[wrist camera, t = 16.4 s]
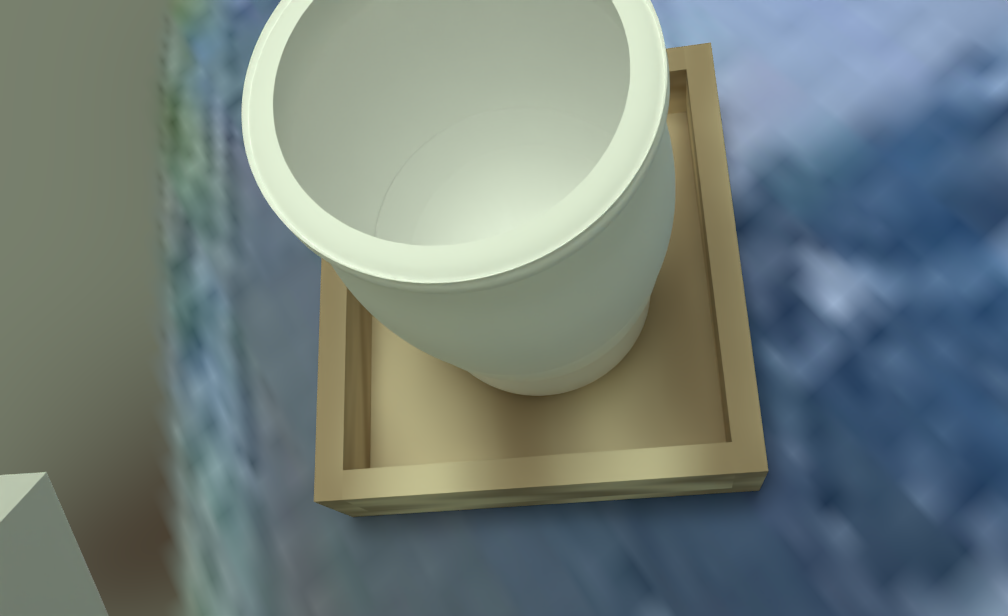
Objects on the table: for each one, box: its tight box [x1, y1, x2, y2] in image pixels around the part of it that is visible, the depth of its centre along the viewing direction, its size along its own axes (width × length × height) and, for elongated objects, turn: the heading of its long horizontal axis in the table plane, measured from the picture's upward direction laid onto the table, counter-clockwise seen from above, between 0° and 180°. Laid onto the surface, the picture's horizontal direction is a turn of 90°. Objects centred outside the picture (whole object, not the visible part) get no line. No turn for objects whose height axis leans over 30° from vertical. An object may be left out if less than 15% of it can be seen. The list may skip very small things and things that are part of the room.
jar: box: [242, 0, 675, 396], centre depth 29 cm, size 11×10×15 cm
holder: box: [314, 43, 768, 517], centre depth 35 cm, size 15×16×4 cm
